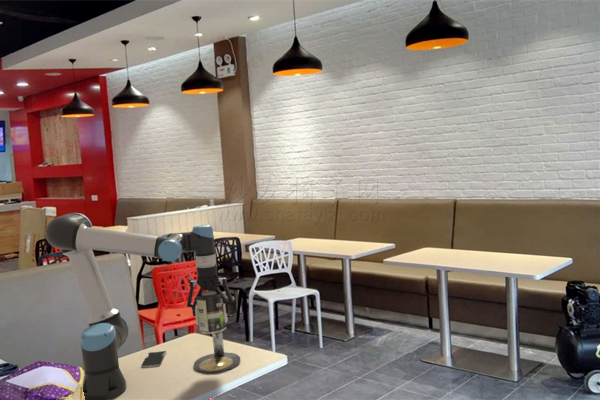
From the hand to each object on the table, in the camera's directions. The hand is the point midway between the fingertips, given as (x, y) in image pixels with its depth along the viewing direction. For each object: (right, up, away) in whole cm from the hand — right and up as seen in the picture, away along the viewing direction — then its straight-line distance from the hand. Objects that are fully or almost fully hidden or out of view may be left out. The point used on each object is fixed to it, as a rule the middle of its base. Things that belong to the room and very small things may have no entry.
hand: (212, 322), depth 210 cm
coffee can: (0, -3, 0) cm, 3 cm away
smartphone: (-26, -19, +14) cm, 35 cm away
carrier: (+1, -17, +5) cm, 18 cm away
